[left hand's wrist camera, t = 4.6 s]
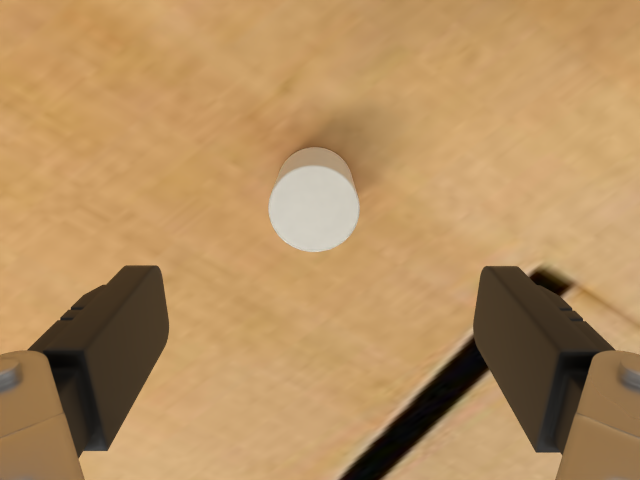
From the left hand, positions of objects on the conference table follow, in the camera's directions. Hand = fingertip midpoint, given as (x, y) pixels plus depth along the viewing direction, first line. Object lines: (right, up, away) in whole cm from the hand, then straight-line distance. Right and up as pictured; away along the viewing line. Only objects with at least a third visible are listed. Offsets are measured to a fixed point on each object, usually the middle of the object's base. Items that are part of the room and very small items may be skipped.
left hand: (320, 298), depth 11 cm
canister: (0, +4, +11) cm, 12 cm away
